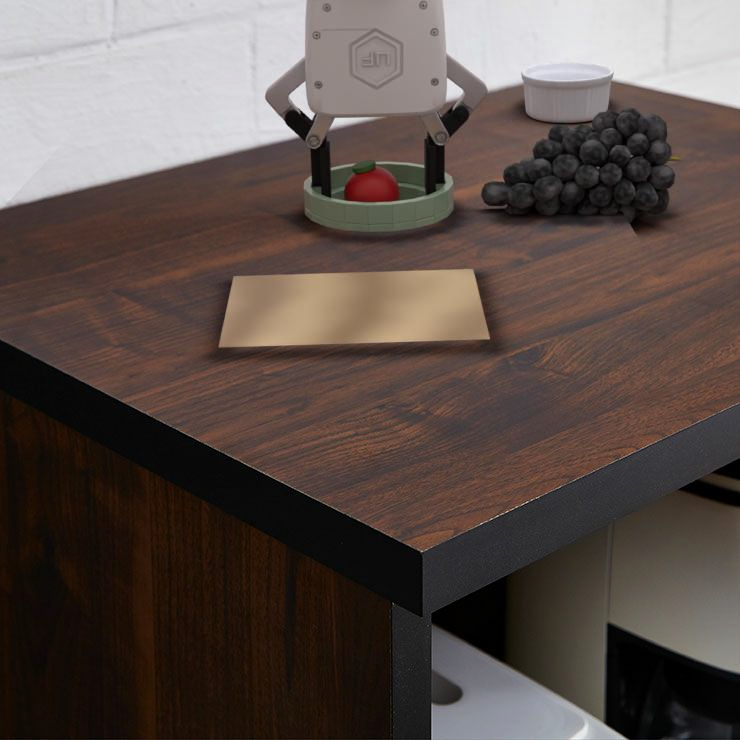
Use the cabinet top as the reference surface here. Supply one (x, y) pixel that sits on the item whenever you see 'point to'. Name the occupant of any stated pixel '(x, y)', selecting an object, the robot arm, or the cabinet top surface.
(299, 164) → the cabinet top surface
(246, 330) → the serving board
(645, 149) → the fruit
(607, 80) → the ramekin
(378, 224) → the bowl
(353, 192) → the tomato
